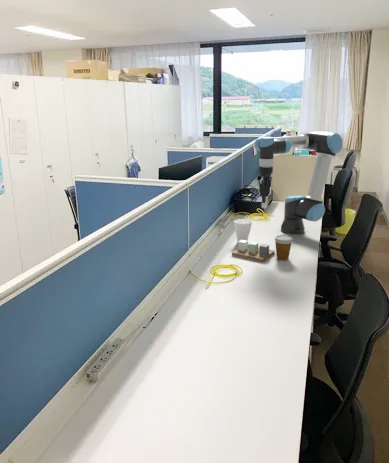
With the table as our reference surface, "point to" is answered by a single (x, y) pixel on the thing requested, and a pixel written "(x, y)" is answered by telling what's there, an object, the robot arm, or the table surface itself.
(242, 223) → the cup
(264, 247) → the gray button
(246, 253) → the button board
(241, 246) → the white block
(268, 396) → the table surface
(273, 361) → the table surface
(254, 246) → the pale green block
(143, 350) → the table surface
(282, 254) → the disposable coffee cup
